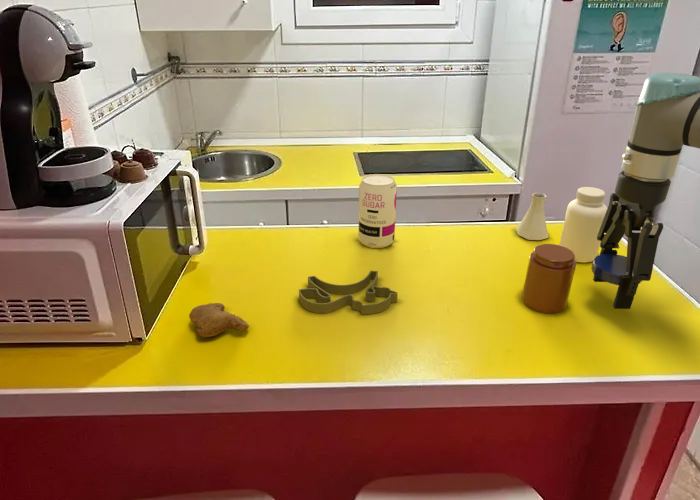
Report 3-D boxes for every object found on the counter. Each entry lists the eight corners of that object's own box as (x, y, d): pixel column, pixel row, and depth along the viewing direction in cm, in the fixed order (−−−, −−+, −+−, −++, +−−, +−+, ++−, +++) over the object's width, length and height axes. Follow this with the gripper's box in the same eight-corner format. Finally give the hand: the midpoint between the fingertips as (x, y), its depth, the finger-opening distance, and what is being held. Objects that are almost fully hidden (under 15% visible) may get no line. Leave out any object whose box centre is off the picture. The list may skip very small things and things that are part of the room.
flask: (510, 229, 126) (517, 190, 121) (537, 226, 127) (545, 188, 122) (525, 242, 119) (533, 202, 115) (554, 239, 121) (562, 199, 116)
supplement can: (389, 232, 124) (391, 172, 117) (397, 248, 116) (401, 185, 109) (355, 234, 122) (356, 174, 115) (362, 250, 115) (363, 187, 108)
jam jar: (572, 314, 94) (585, 263, 89) (528, 313, 94) (538, 262, 89) (558, 290, 101) (569, 242, 96) (516, 289, 101) (525, 241, 96)
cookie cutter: (386, 277, 105) (386, 269, 104) (401, 311, 94) (401, 302, 93) (297, 285, 102) (296, 276, 101) (302, 320, 92) (302, 311, 91)
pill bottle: (550, 254, 114) (564, 190, 107) (568, 243, 119) (582, 181, 112) (586, 267, 109) (602, 201, 102) (602, 255, 114) (619, 191, 107)
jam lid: (637, 266, 95) (640, 257, 94) (646, 289, 88) (649, 280, 87) (589, 259, 97) (591, 250, 96) (593, 281, 90) (596, 272, 89)
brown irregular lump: (249, 337, 87) (248, 319, 86) (188, 344, 85) (185, 326, 84) (248, 305, 96) (246, 288, 94) (192, 310, 94) (189, 293, 92)
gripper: (596, 154, 93) (569, 264, 103) (654, 199, 74) (614, 328, 85) (638, 155, 93) (607, 265, 103) (707, 200, 74) (660, 329, 85)
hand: (610, 293), depth 94 cm, fingers closed on jam lid, 8 cm apart
